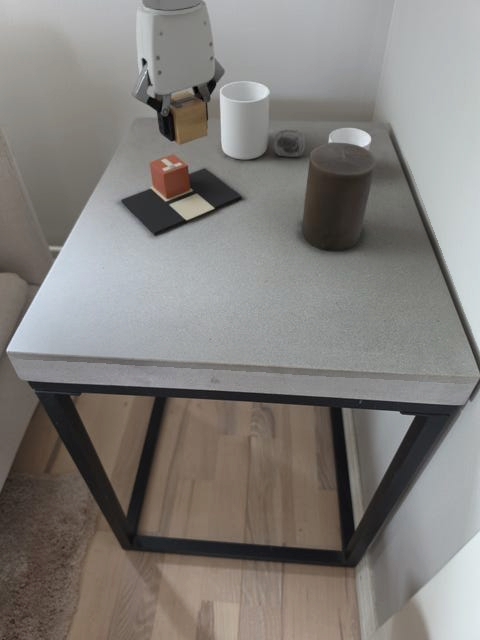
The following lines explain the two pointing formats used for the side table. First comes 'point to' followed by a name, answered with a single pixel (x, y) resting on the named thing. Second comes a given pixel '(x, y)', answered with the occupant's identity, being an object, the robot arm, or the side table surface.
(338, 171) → the pillar candle
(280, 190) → the side table surface
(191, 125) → the maple block
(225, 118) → the mug
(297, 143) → the fossil
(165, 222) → the word mat
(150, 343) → the side table surface
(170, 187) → the terracotta block
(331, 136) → the cup
